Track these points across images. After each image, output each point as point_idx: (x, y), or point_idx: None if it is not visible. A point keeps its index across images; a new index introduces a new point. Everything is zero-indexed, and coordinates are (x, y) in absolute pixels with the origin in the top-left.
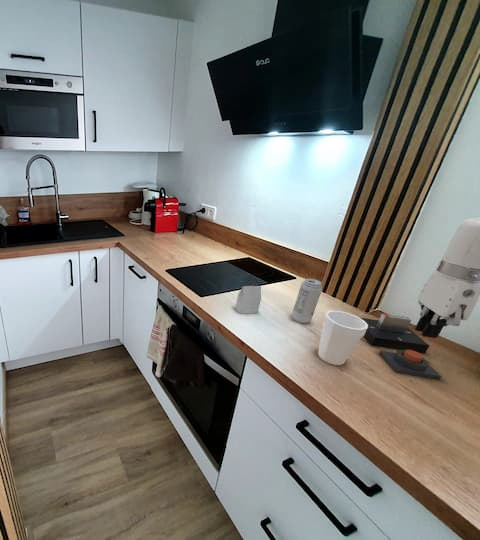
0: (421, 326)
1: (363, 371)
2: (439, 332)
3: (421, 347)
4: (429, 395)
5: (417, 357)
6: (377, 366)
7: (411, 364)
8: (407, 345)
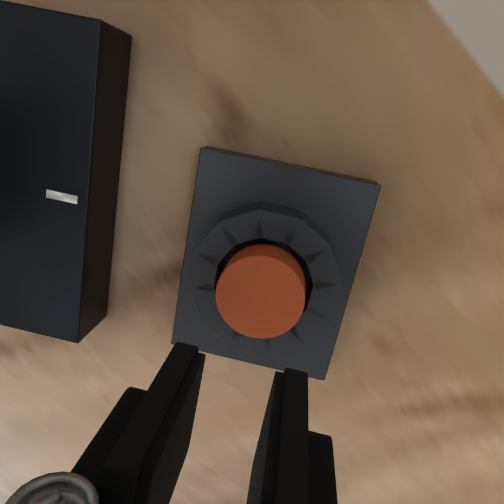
0: (173, 477)
1: None
2: (305, 420)
3: (109, 70)
4: (482, 343)
5: (298, 312)
6: None
7: (318, 330)
8: (104, 157)
